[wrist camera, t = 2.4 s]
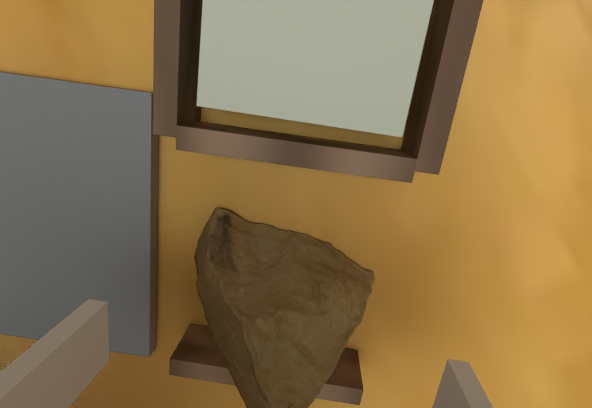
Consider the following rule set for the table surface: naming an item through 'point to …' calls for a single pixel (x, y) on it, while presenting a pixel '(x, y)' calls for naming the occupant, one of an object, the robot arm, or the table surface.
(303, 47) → the pale grey-green block
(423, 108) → the brown frame and bar
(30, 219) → the board
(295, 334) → the rock
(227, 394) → the table surface
